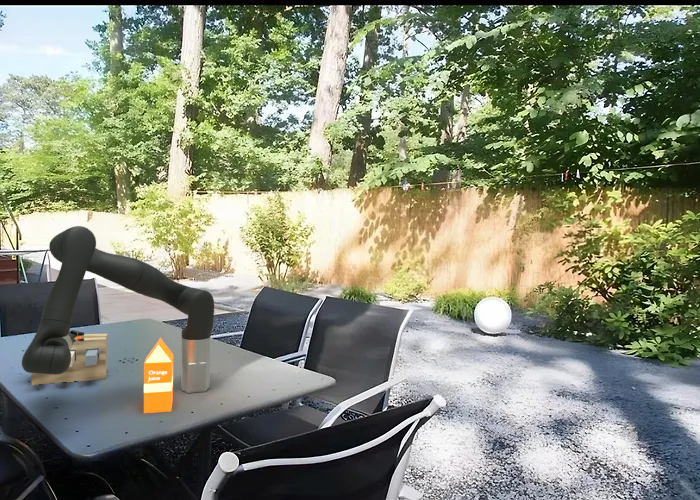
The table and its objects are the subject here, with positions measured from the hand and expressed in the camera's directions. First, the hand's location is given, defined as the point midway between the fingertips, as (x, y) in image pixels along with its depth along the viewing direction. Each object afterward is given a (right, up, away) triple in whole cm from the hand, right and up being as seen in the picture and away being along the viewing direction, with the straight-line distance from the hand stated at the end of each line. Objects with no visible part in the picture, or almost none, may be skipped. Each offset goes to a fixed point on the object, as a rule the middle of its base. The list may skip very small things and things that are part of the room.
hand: (64, 331), depth 160 cm
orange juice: (+32, -22, -7) cm, 39 cm away
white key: (-4, -12, +10) cm, 16 cm away
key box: (-8, -19, +18) cm, 27 cm away
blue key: (+2, -12, +13) cm, 18 cm away
